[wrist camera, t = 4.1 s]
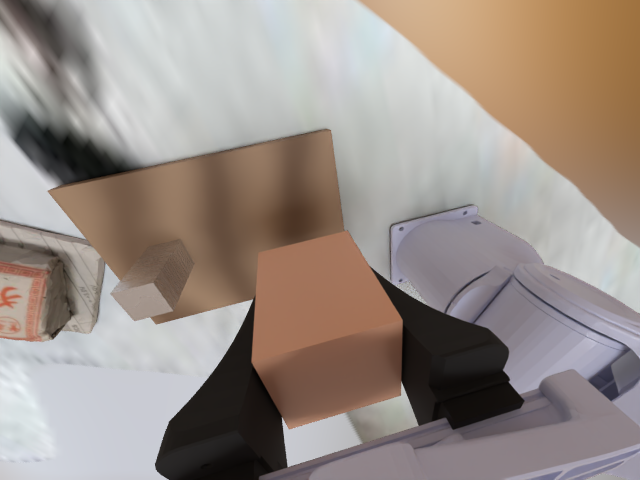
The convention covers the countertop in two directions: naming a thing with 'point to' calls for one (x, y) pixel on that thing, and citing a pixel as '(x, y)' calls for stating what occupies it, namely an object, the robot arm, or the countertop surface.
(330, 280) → the orange rectangular block
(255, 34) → the countertop surface
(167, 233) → the board
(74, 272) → the packaged product
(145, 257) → the post
